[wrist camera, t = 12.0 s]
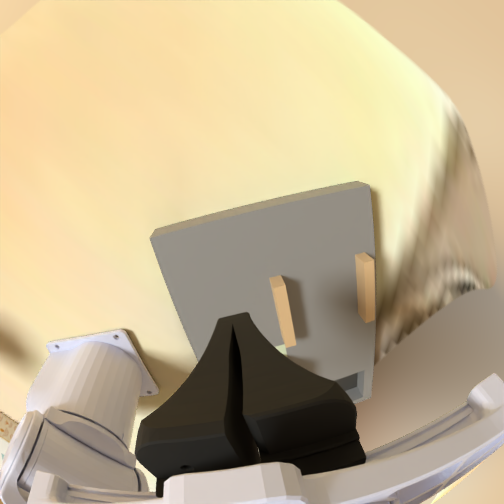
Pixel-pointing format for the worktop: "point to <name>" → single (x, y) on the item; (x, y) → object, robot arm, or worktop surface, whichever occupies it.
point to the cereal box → (5, 434)
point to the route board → (284, 278)
